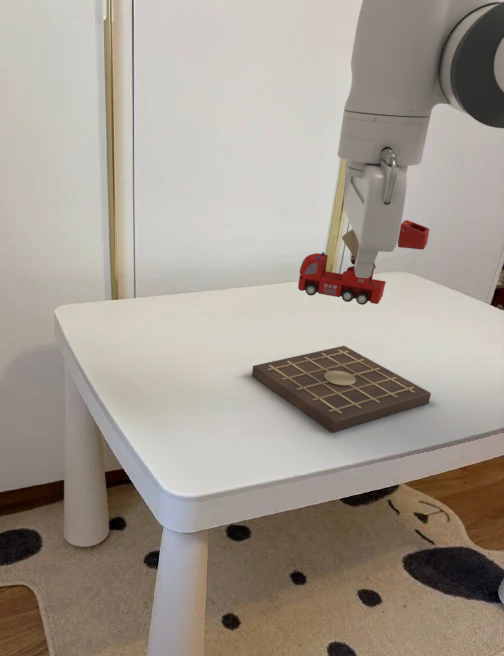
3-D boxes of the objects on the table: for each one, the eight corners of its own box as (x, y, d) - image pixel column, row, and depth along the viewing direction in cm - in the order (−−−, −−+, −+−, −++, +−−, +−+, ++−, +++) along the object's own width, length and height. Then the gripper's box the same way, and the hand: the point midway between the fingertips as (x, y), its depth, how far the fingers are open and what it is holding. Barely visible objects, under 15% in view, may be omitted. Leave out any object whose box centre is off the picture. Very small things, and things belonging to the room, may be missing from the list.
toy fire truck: (301, 285, 79) (312, 206, 75) (413, 305, 75) (432, 223, 70) (294, 292, 76) (304, 211, 72) (409, 314, 72) (428, 228, 67)
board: (428, 403, 79) (431, 391, 78) (332, 433, 72) (334, 420, 71) (342, 354, 91) (344, 344, 90) (251, 375, 84) (252, 364, 83)
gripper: (431, 158, 58) (401, 301, 65) (396, 135, 76) (375, 249, 82) (362, 153, 58) (339, 296, 65) (343, 131, 76) (326, 245, 83)
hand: (359, 269), depth 74 cm, fingers closed on toy fire truck, 4 cm apart
